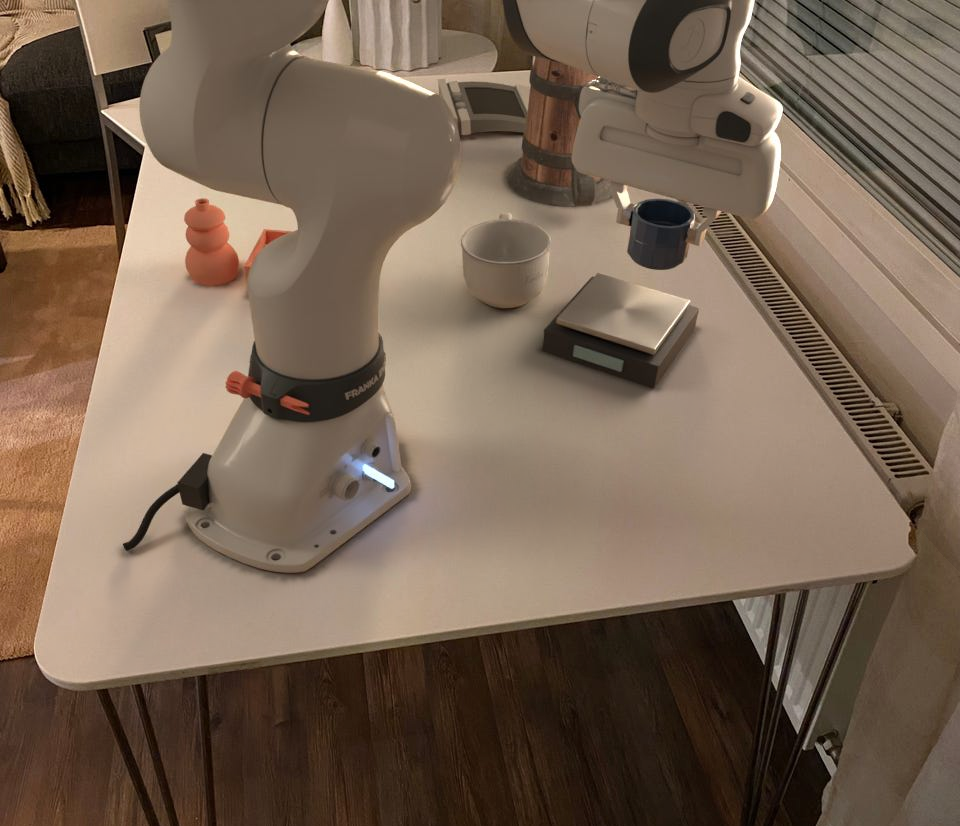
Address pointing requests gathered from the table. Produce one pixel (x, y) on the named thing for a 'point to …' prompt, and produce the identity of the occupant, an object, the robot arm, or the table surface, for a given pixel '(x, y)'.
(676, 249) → the cup
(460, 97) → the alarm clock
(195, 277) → the pottery
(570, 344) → the scale
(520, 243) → the teacup
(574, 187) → the tankard
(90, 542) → the table surface
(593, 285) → the scale pan
